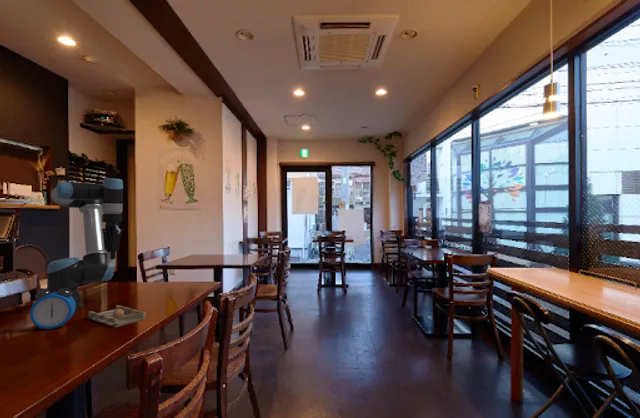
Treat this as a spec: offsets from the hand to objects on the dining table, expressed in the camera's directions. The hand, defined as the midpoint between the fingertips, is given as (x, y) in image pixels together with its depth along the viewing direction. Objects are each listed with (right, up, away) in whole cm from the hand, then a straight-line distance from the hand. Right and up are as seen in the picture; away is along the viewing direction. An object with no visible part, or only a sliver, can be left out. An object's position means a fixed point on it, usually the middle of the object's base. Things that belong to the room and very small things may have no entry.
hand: (111, 266), depth 142 cm
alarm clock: (-13, -21, -16) cm, 29 cm away
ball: (+7, -19, -6) cm, 21 cm away
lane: (+6, -21, -5) cm, 23 cm away
